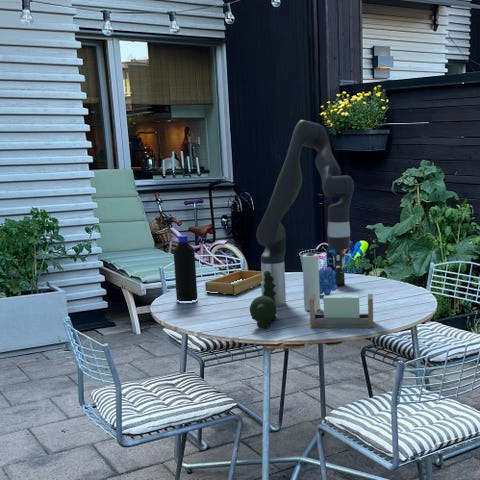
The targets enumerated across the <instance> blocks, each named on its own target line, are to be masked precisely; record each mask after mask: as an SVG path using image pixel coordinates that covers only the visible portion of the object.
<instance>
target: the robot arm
mask: <svg viewBox="0 0 480 480" xmlns="http://www.w3.org/2000/svg"><path fill="white" fill-rule="evenodd" d="M291 135H292V136H291V139H290V143H289V146H288V150H287V152H286V154H287V155H286V157H285V160H284V163H283V165H282V167H281V169H280V170H281V171H280V172H279V175H278V178H277V181H276V183H275V186H274V189H273V192H272V195H271V198H270V200H269V203H268V206H267V208H266V210H265V213H264V215H263V217H262V218H261V221H260V223H259V225H258V227H257V229H256V233H255V235H256V236H255V237H256V241H257V242H258V244H259V245H261V246H262V247H264V251H263V252H262V254H261V255H260V264H261V265H260V267H261V271H262V282H261V285H260V287H261V289H260V290H261V291H260V293H261V296H263V292H264V290H265V289H264V287H263V285H264V283H265V282H264V278H265V276H264V272H265V271H269V272H270V273H271V276H272V277H273V278H274V280H273V284H275V287H274V289H273V290H274V292H276V295H274V298H275V302H276V303H275V304H276V306H277V307H280V306H281V307H282V306H284V305H286V304H287V301H286V299H287V298H286V293H287V292H286V276H285V255H286V250H287V249H286V248H287V246H286V245H287V242H286V241H287V240H286V239H287V237H286V236H287V235H286V229H285V227H284V225H283V224H282V223H281V222H282V220H283V217H284V215H285V214H286V213H287V211H288V210H289V209H290V208H291V206H292V205H293V203H294V202H295V200H296V199H297V197H298V195H299V192H300V189H301V187H302V184H303V174H302V169H301V168H302V167H301V163H300V162H301V161H300V156H301V152H302V150H303V149H302V148H303V147H306V148H310V149H315V150H316V152H317V155H316V156H315V167H316V170H317V172H318V173H319V174H320V175H319V176H320V179H321V183H322V184H321V191H322V193H323V194H324V195H325V196H326V197H328V198H340V199H339V201H338V202H336V203H332V204H330V205H328V207H327V249H328V248H329V249H331V250H335V253H334V254H333V260H334V268H335V270H334V271H335V282H336V284H342V279H343V268H344V269H345V262H346V261H345V260H346V253H345V250H349V249H350V248H351V229H350V227H351V225H350V206H351V201H352V197H353V195H354V194H353V193H354V190H355V182H354V179H353V178H352V176H350V175H341V173H342V171H341V168H340V166H339V164H338V161H337V159H336V158H335V157H334V154H333V153H332V149H331V143H330V140H329V137H328V134H327V131H326V128H325V127H324V125H322V124H320V123H316V122H313V121H308V120H305V119H300V120H299V121H298V122H297V123H296V125H295V127H294V129H293V132H292V134H291Z"/></svg>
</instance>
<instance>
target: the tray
mask: <svg viewBox="0 0 480 480" xmlns="http://www.w3.org/2000/svg"><path fill="white" fill-rule="evenodd" d="M240 279H242V281H239V282H237V283H234V284H231V282H234V281H237V280H240ZM244 279H245V280H244ZM204 282H205V283H204V285H205V292H206V291H210V292H218V293H226V294H236V295H238V294H237V293H239V292H241V293H243V292H245V291H244V290H246V289H248V290H250V289H249V288H251V287H253V288H255V287H254V286H256V285H258V286H260V285H259V284H261V282H262V270H261V271H260V270H257V271H256V270H243V269H242V270H237V271H234V272H231V273H228V274H226V275H225V274H224V275H223V276H220V277H219V276H218V277H217V278H213V279H211V280H208V281H204ZM256 287H257V286H256ZM251 289H252V288H251ZM242 291H243V292H242ZM246 291H247V290H246ZM226 294H225V295H226ZM239 294H240V293H239Z"/></svg>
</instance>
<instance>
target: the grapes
mask: <svg viewBox="0 0 480 480" xmlns="http://www.w3.org/2000/svg"><path fill="white" fill-rule="evenodd" d="M337 289H338V287H337V285H336V282H335V271H334V270H333V271H332V268H331V267H327V266H326V268H325V270H324V268H319V291H320V296H321V295H322V294H324V296H330V294H331V292H335V291H336V290H337Z"/></svg>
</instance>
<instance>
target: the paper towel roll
mask: <svg viewBox="0 0 480 480" xmlns="http://www.w3.org/2000/svg"><path fill="white" fill-rule="evenodd" d="M319 270H320V265H319V254H318V253H307V252H306V253H304V254H302V280H303V282H302V283H303V304H304V305H303V306H304V307H303V309H304V310H305V311H307V312H310V297H311V294H316V308H317V311H318V310H319V311H320V310H321V299H320V298H321V295H320V291H319Z"/></svg>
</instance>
